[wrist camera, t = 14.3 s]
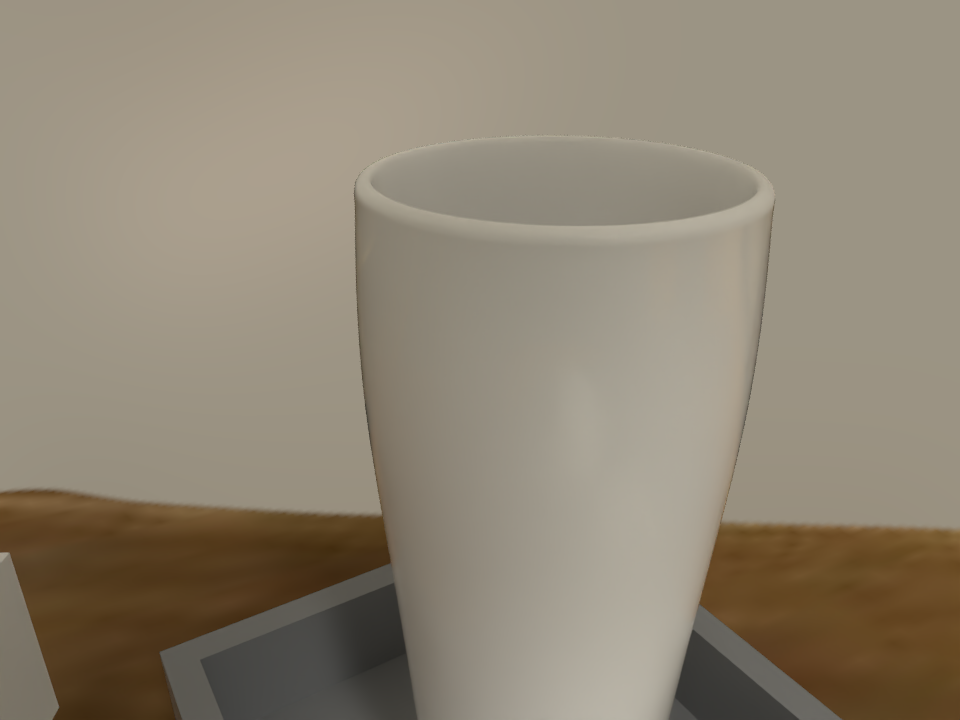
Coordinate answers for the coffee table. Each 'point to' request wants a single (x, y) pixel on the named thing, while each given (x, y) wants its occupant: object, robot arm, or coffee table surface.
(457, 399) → the white cup
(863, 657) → the coffee table surface
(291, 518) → the coffee table surface
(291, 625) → the tray
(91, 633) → the coffee table surface
